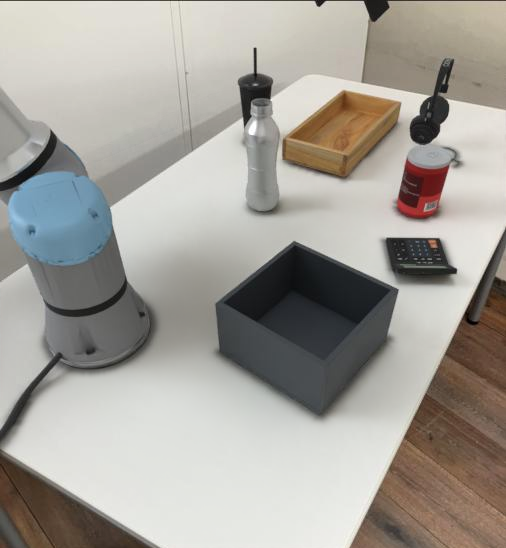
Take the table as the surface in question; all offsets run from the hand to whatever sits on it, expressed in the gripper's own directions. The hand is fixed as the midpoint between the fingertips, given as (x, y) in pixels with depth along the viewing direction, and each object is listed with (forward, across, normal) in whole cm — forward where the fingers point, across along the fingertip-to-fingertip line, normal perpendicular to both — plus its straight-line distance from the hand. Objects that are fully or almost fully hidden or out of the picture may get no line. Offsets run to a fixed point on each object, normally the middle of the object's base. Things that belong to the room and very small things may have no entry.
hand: (351, 7), depth 73 cm
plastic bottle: (+23, +11, +26) cm, 37 cm away
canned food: (+38, -4, +5) cm, 39 cm away
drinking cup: (+28, +36, +16) cm, 48 cm away
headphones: (+45, +9, -8) cm, 47 cm away
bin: (+19, -24, +38) cm, 49 cm away
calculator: (+34, -17, +15) cm, 40 cm away
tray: (+37, +26, +1) cm, 45 cm away
